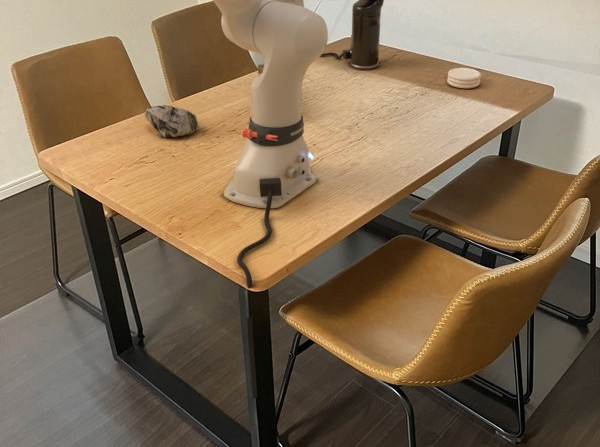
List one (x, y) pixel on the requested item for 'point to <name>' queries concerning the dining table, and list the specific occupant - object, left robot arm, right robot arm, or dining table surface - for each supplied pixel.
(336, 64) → the dining table surface
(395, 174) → the dining table surface
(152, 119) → the rock
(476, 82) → the coaster
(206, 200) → the dining table surface
